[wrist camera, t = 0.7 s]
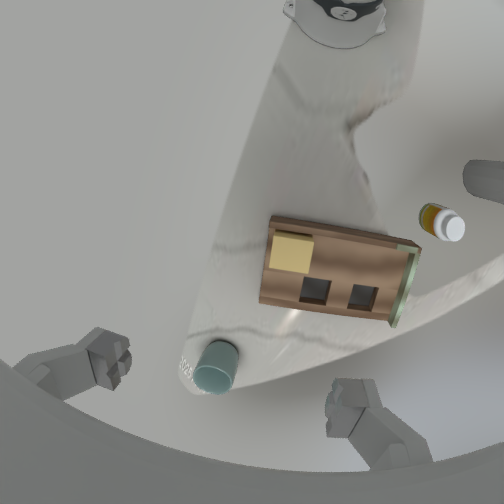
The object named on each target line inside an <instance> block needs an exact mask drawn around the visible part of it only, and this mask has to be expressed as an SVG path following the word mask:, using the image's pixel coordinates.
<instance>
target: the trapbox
mask: <svg viewBox="0 0 504 504" xmlns="http://www.w3.org/2000/svg"><path fill="white" fill-rule="evenodd" d="M275 229H281V230H287V231H293V232H300V233H306V234H312V236H313V239H314V246H313V252H312V257H311V262H310V267H309V272H308V274H306V273H299V272H293V271H287V270H280V269H274V268H269V264H270V257H271V250H272V244H273V237H274V233H275ZM421 250H422V248H421V247H419V246H418V245H417V244H415V243H414V242H413V241H411V240H407V239H402V238H396V237H392V236H387V235H382V234H377V233H371V232H366V231H361V230H355V229H350V228H344V227H339V226H333V225H327V224H321V223H315V222H309V221H303V220H297V219H291V218H284V217H278V216H272V217H271V219H270V222H269V235H268V242H267V249H266V256H265V263H264V270H263V277H262V284H261V290H260V297H259V303H261V304H267V305H273V306H279V307H286V308H292V309H299V310H306V311H313V312H320V313H327V314H335V315H342V316H350V317H359V318H367V319H376V320H385V321H388V323H389V324H390V326H391V328H396V326H397V323H398V321H399V318H400V316H401V313H402V310H403V307H404V305H405V302H406V299H407V296H408V293H409V290H410V287H411V284H412V281H413V278H414V274H415V271H416V267H417V264H418V261H419V257H420V254H421Z"/></svg>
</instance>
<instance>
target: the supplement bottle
mask: <svg viewBox="0 0 504 504" xmlns="http://www.w3.org/2000/svg"><path fill="white" fill-rule="evenodd" d="M419 223H420V225H421V227H422V228H423V229H424V230H425V231H427V232H429V233H430V234H432V235H434V236H436V237H437V238H439V239H441V240H443V241H450V240H451V241H458V240H459V239H461V238H462V236H463V234H464V231H465V224H464V221H463V220H462V219H461V218H460V217H458V215H457V213H456V212H455V211H453V210H451V209H449V208H446V207H443V206H441V205H438V204H434V203H428V204H426V205H424V206H423V207H422V209H421V210H420V213H419Z"/></svg>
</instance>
